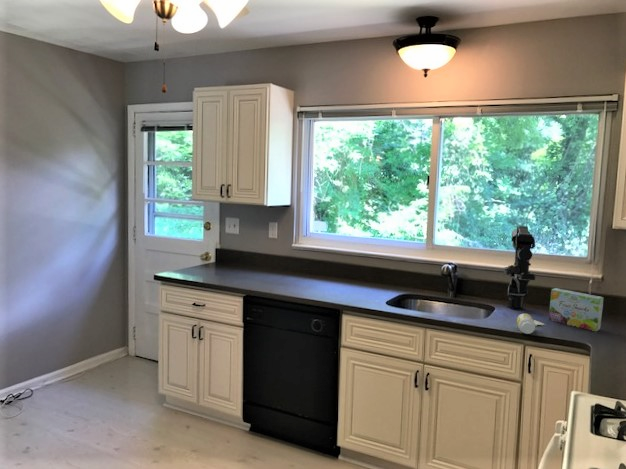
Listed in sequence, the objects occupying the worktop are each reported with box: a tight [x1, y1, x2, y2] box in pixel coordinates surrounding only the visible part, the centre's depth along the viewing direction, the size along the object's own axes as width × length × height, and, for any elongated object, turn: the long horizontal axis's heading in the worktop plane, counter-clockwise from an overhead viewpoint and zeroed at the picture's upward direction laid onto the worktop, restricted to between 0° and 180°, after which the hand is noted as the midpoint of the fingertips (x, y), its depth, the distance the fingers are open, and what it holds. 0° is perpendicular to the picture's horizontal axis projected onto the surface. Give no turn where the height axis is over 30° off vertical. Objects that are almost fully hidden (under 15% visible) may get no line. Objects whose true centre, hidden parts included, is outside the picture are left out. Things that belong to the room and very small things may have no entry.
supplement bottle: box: [516, 313, 536, 335], centre depth 232 cm, size 7×7×13 cm
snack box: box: [548, 287, 604, 332], centre depth 245 cm, size 21×6×15 cm, turn 45°
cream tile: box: [533, 319, 546, 327], centre depth 245 cm, size 6×6×1 cm
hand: (520, 293), depth 254 cm, fingers closed
